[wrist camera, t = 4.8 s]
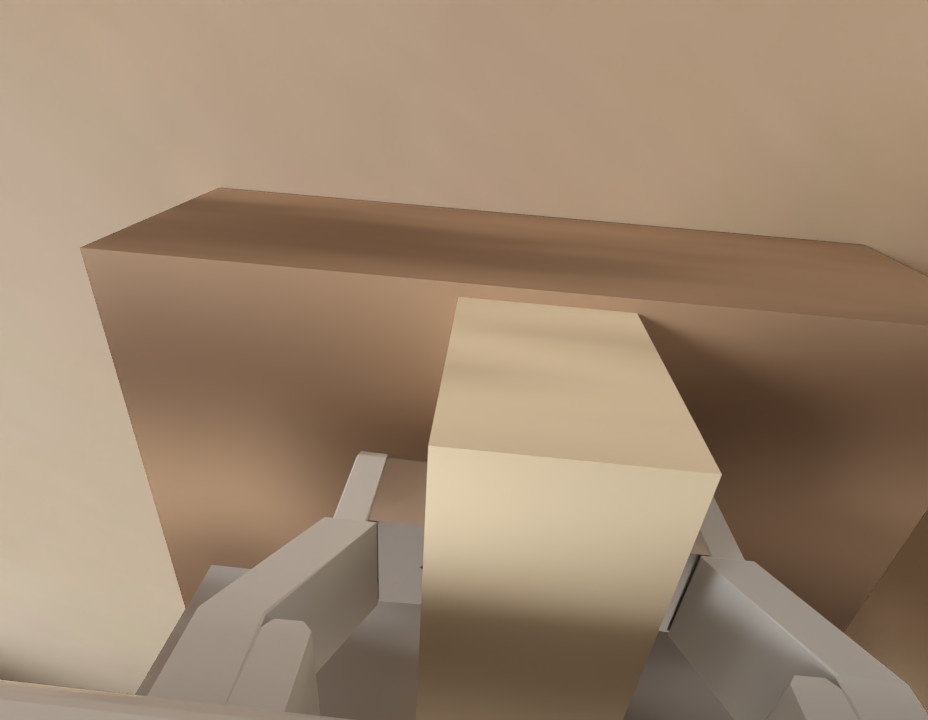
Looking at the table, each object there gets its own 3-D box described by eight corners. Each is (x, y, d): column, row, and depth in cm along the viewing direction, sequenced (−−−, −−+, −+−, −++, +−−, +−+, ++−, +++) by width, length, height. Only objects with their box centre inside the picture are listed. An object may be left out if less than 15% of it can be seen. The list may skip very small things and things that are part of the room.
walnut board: (670, 672, 22) (711, 824, 17) (286, 629, 22) (232, 768, 18) (863, 244, 13) (1045, 336, 9) (219, 187, 13) (79, 247, 9)
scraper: (776, 664, 13) (874, 881, 10) (221, 604, 14) (122, 793, 10) (972, 343, 9) (1282, 528, 5) (138, 268, 9) (-89, 394, 6)
